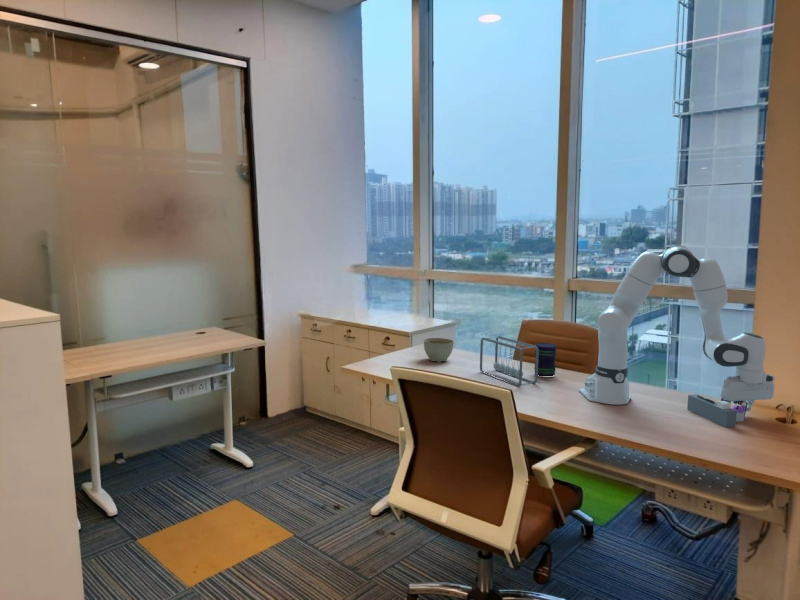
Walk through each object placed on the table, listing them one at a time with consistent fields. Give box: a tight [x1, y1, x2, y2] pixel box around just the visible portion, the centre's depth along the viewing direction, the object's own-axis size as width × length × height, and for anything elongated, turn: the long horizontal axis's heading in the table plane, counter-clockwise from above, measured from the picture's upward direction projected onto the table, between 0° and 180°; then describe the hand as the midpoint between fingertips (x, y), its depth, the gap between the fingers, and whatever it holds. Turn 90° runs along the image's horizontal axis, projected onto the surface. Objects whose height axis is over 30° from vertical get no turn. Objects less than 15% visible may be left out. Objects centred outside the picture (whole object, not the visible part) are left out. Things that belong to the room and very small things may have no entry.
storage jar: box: [533, 342, 557, 376], centre depth 264 cm, size 10×10×15 cm
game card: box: [720, 397, 748, 418], centre depth 209 cm, size 7×5×9 cm
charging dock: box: [686, 394, 745, 428], centre depth 206 cm, size 20×12×8 cm, turn 10°
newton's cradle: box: [479, 335, 539, 387], centre depth 258 cm, size 30×10×18 cm, turn 29°
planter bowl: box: [423, 337, 455, 363], centre depth 292 cm, size 16×16×11 cm
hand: (745, 410), depth 209 cm, fingers closed
